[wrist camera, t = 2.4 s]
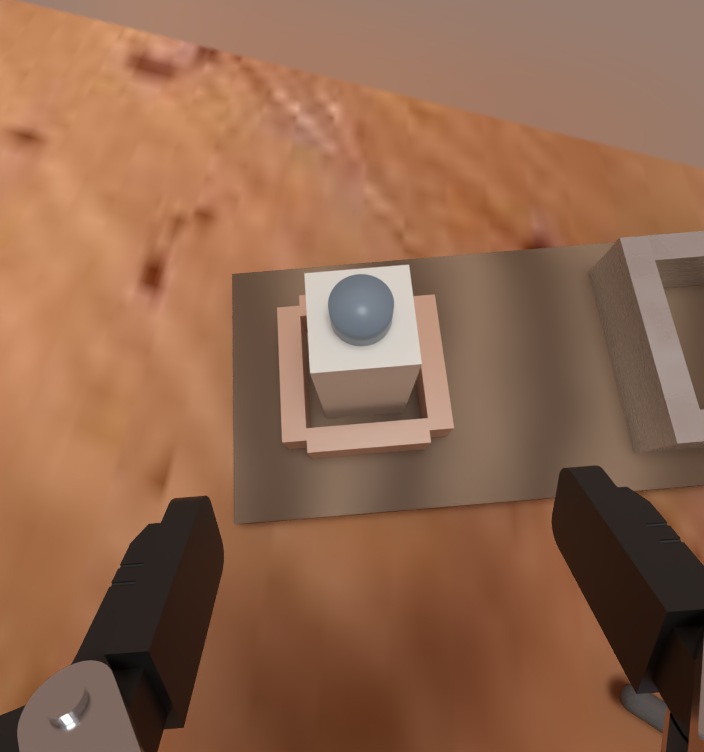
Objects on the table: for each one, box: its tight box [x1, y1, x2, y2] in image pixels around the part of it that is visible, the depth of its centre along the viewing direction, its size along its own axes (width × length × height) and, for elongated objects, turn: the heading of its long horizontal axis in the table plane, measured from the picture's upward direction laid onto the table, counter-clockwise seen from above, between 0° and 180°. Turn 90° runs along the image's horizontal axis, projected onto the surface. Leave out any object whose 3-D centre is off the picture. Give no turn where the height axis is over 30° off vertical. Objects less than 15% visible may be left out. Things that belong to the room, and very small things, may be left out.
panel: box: [232, 242, 704, 524], centre depth 23 cm, size 28×12×2 cm, turn 95°
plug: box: [304, 265, 422, 419], centre depth 18 cm, size 4×4×8 cm
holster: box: [277, 294, 454, 459], centre depth 21 cm, size 7×7×2 cm
